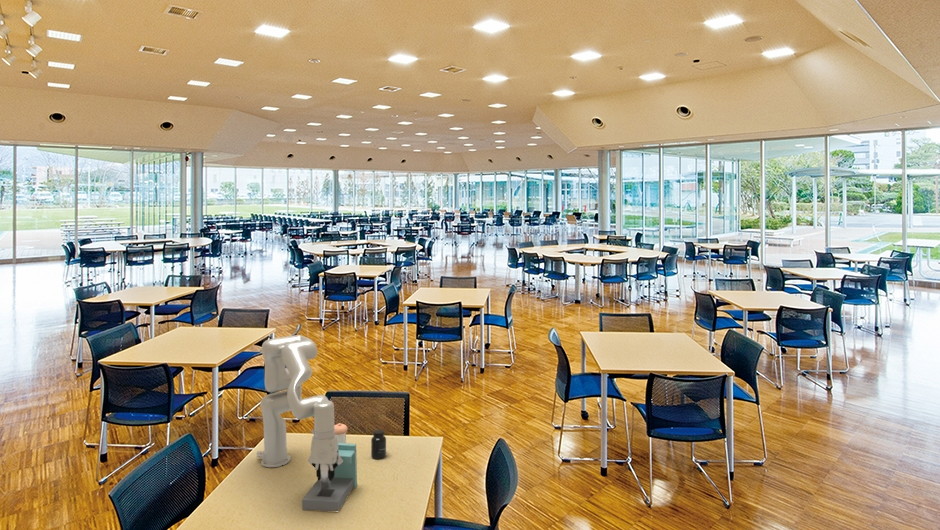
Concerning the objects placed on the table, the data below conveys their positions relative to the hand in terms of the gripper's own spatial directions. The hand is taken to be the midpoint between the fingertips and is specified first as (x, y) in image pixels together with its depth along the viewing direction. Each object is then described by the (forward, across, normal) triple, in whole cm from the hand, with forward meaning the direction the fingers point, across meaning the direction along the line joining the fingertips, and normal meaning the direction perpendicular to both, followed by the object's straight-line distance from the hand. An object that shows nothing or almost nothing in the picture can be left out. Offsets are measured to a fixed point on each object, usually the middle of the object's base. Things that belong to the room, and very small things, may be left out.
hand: (325, 478), depth 207 cm
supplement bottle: (+10, +10, +41) cm, 44 cm away
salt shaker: (+10, -5, +31) cm, 33 cm away
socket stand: (+10, 0, +4) cm, 11 cm away
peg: (+3, 0, 0) cm, 3 cm away
